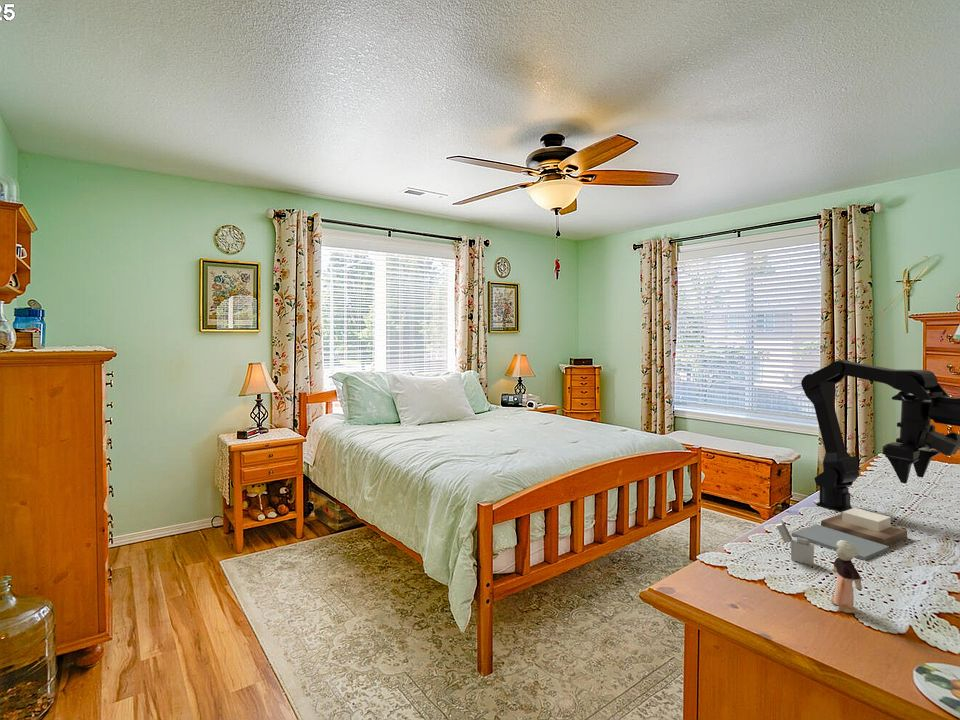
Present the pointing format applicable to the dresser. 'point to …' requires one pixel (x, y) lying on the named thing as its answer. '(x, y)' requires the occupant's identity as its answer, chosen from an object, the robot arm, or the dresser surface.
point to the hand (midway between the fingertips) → (912, 480)
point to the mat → (831, 537)
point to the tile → (866, 519)
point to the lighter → (797, 546)
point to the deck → (866, 531)
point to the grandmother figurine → (845, 577)
